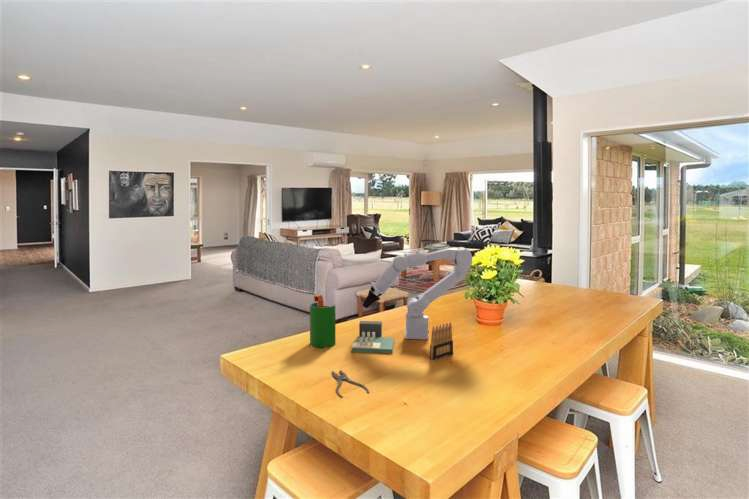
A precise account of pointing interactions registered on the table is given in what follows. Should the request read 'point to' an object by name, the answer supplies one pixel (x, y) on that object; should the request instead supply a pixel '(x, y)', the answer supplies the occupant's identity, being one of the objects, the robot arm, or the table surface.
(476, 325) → the table surface
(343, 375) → the pliers
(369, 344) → the header board
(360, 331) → the block
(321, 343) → the green and brown cylinder
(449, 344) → the ammunition clip
